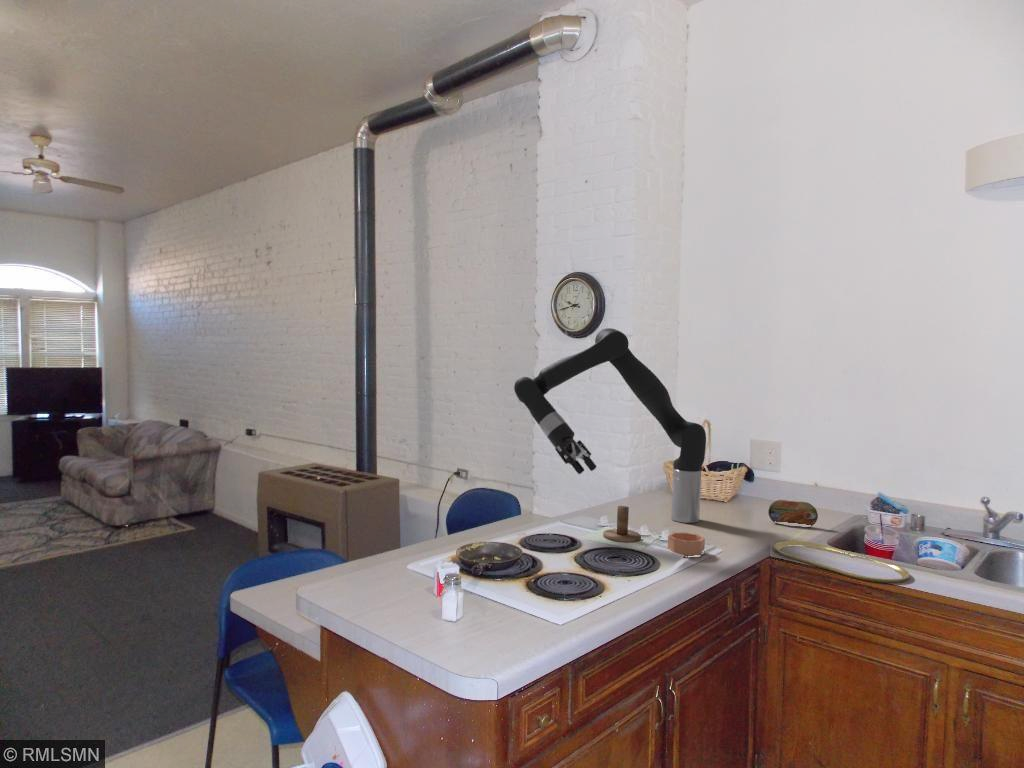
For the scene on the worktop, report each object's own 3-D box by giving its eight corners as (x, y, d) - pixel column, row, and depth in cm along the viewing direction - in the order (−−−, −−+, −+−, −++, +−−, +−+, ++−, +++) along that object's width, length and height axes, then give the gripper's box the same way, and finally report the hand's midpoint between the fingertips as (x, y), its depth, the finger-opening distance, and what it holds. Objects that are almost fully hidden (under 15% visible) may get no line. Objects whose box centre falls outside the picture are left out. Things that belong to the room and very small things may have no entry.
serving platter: (883, 590, 153) (883, 583, 153) (759, 550, 183) (760, 545, 183) (923, 578, 163) (924, 572, 163) (800, 543, 193) (800, 538, 193)
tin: (767, 523, 215) (769, 499, 214) (767, 521, 218) (769, 497, 217) (817, 529, 209) (818, 504, 209) (816, 527, 212) (817, 502, 212)
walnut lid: (612, 530, 195) (613, 501, 194) (646, 536, 189) (647, 506, 189) (596, 538, 185) (598, 507, 185) (632, 544, 180) (633, 513, 179)
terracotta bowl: (674, 546, 183) (675, 530, 183) (707, 552, 178) (707, 536, 178) (664, 553, 176) (664, 537, 175) (697, 560, 171) (698, 543, 171)
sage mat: (606, 529, 200) (606, 526, 200) (661, 539, 190) (662, 536, 190) (580, 541, 184) (580, 538, 184) (639, 553, 175) (639, 550, 175)
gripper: (553, 423, 191) (586, 465, 185) (574, 420, 203) (606, 460, 197) (537, 439, 194) (569, 481, 188) (559, 435, 206) (590, 475, 200)
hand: (588, 470), depth 193 cm, fingers open, 8 cm apart
